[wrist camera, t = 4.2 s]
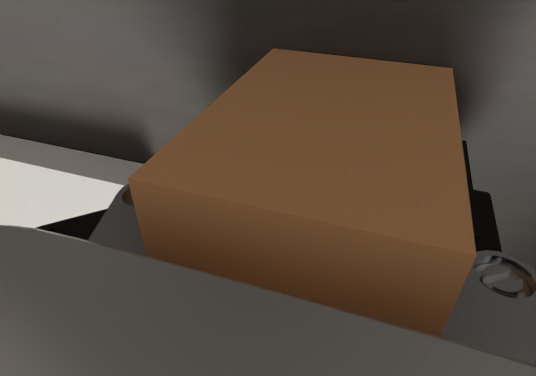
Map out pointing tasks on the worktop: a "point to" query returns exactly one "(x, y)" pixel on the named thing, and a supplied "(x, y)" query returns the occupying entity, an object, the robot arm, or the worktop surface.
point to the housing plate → (55, 182)
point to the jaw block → (321, 187)
